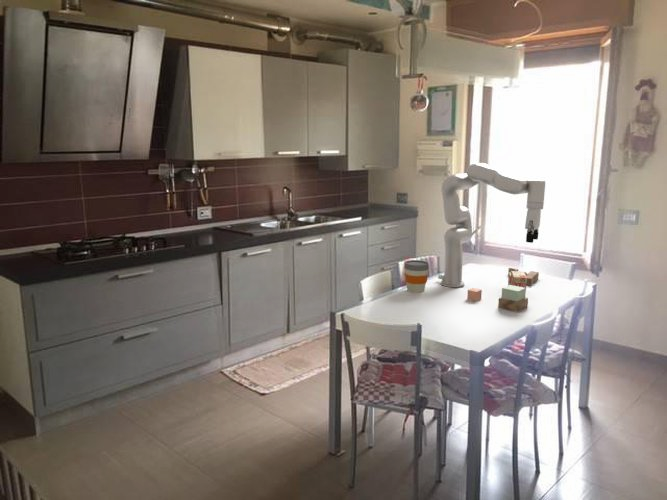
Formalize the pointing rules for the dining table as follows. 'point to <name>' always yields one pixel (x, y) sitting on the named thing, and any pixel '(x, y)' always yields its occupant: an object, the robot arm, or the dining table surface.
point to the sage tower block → (513, 293)
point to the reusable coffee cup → (416, 275)
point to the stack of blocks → (517, 279)
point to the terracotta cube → (474, 294)
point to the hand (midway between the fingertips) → (531, 240)
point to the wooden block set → (528, 276)
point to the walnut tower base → (513, 304)
